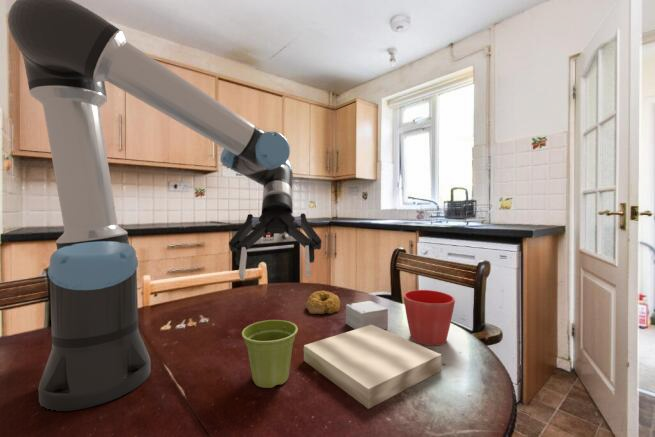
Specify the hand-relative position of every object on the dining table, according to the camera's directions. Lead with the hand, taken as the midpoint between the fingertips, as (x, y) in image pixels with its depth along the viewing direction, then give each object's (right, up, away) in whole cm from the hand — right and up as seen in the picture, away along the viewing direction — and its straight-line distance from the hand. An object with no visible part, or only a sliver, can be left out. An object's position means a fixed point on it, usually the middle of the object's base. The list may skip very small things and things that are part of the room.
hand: (275, 275), depth 64 cm
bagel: (+10, -15, +27) cm, 32 cm away
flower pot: (+34, -16, +6) cm, 38 cm away
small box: (+21, -15, +14) cm, 29 cm away
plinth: (+19, -16, -6) cm, 25 cm away
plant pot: (+1, -16, -10) cm, 19 cm away
